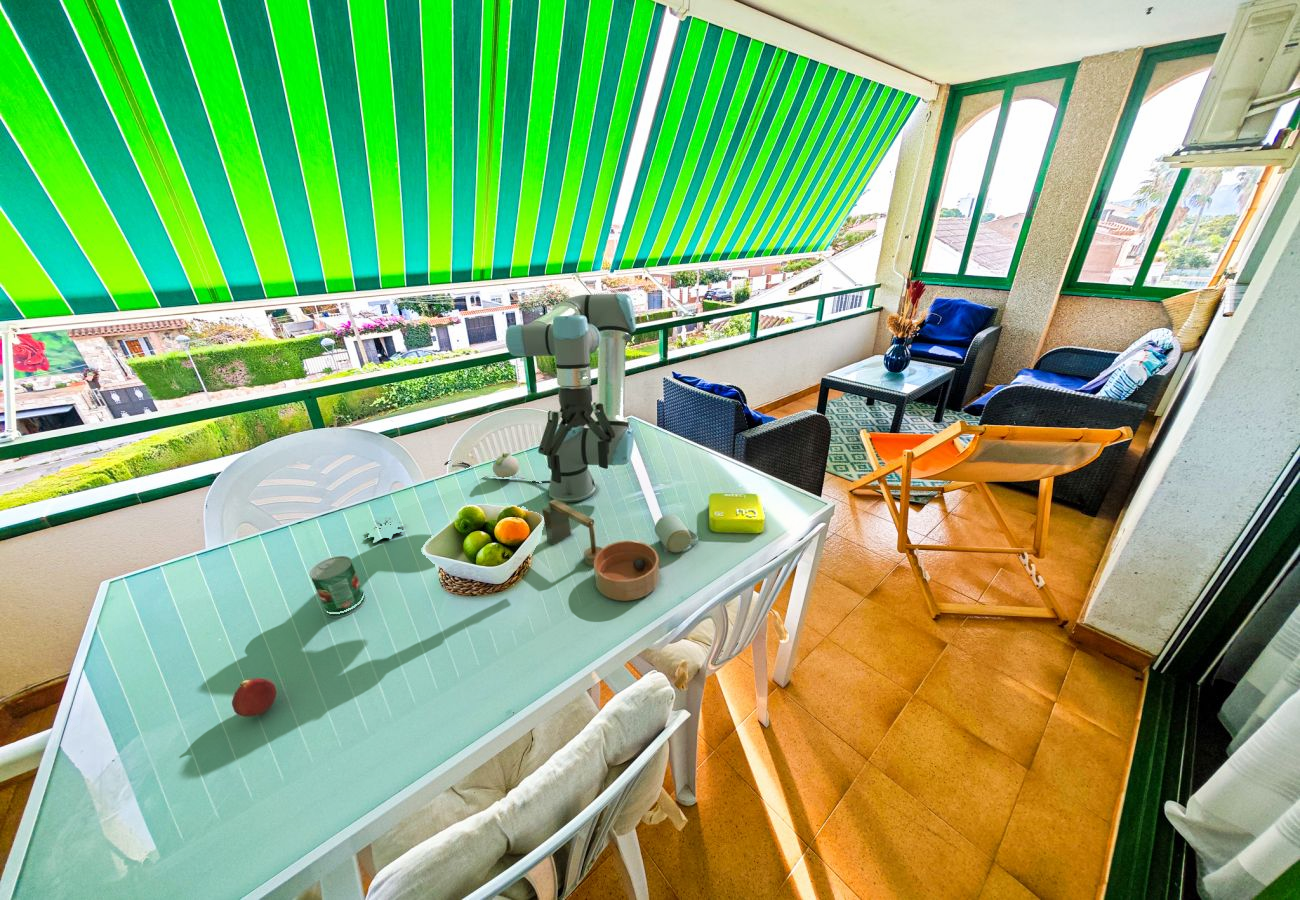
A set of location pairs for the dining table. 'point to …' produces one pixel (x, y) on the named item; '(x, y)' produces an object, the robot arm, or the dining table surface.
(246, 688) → the red plum
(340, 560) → the canned tomato
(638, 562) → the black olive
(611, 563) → the bowl
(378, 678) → the dining table surface
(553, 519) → the dark upright slab
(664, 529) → the ceramic mug
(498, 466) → the decorative fruit
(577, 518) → the ladle
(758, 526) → the element tile
